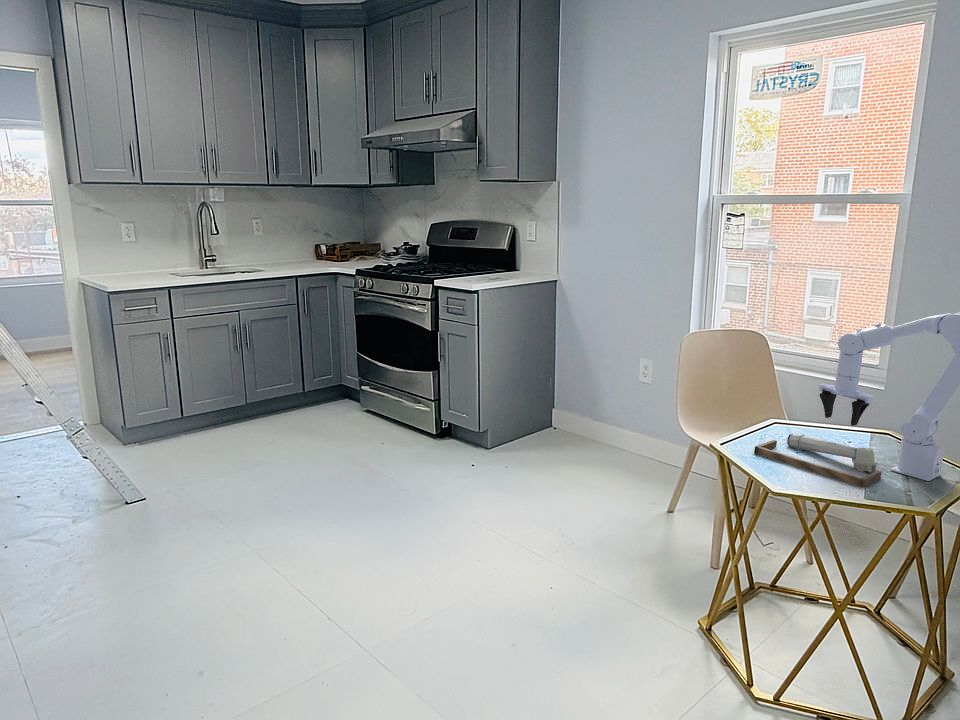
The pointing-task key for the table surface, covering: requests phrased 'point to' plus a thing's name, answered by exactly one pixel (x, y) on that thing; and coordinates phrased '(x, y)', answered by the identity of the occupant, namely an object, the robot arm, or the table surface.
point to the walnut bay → (815, 466)
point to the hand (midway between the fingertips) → (840, 421)
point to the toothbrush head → (836, 451)
